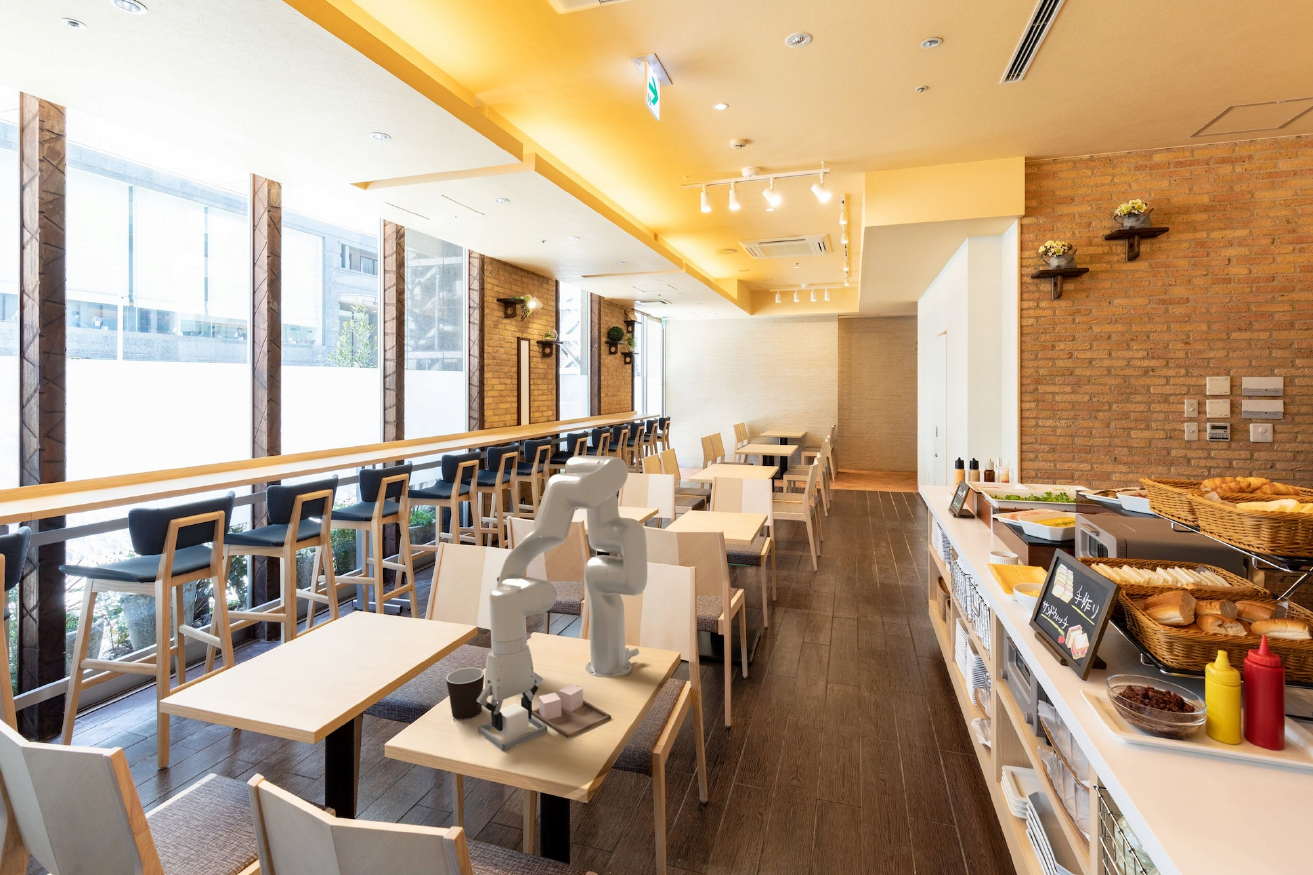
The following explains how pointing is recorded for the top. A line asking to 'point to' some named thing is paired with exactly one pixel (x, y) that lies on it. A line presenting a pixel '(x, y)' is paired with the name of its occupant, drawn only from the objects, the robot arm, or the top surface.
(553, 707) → the small marshmallow
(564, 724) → the walnut tray
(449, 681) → the coffee mug
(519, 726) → the cream white cube
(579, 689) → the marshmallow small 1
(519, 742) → the slate dish
